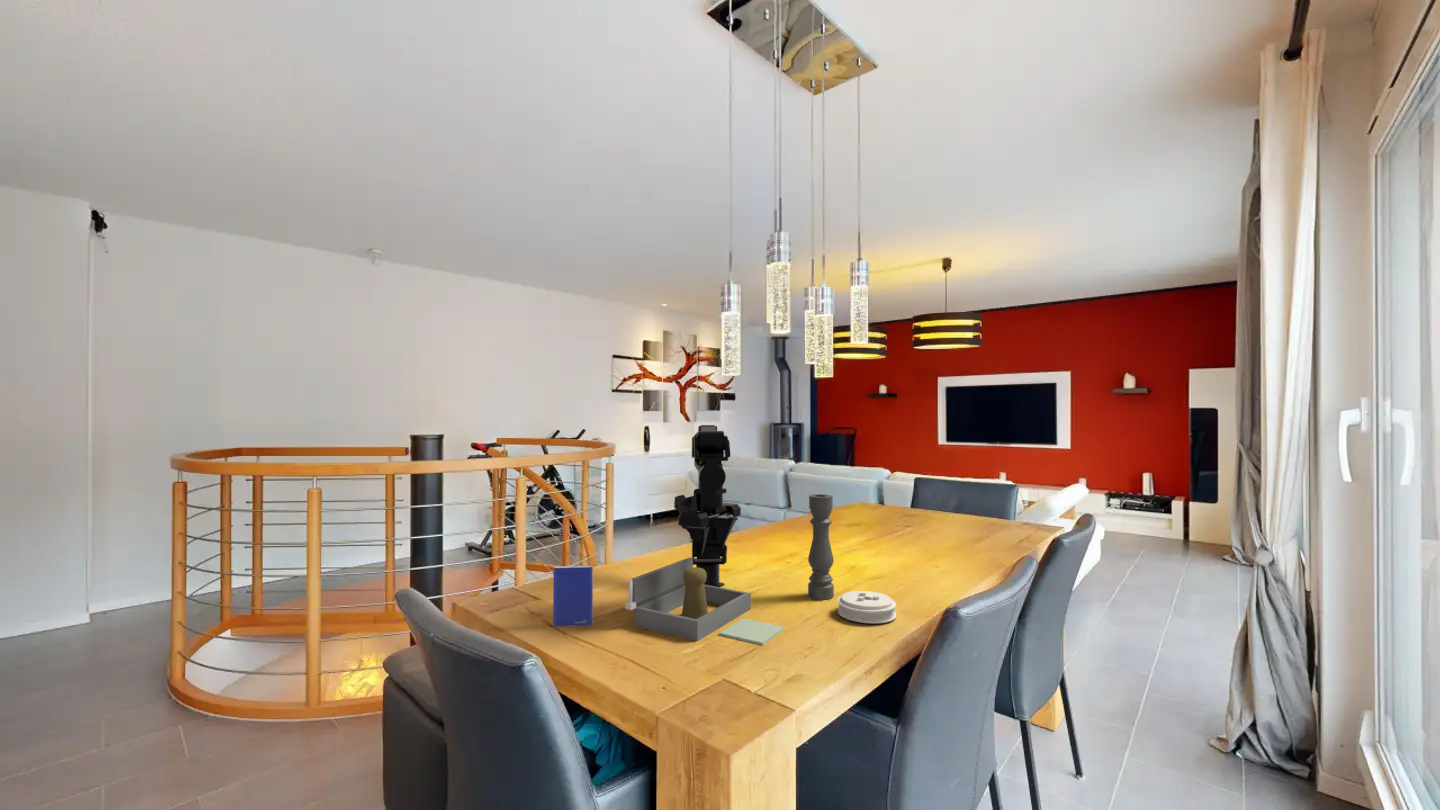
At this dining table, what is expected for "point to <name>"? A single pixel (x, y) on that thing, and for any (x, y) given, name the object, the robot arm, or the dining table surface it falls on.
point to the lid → (866, 607)
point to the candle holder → (820, 548)
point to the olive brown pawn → (694, 593)
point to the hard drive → (573, 595)
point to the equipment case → (680, 603)
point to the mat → (752, 631)
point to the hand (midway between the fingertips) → (710, 551)
